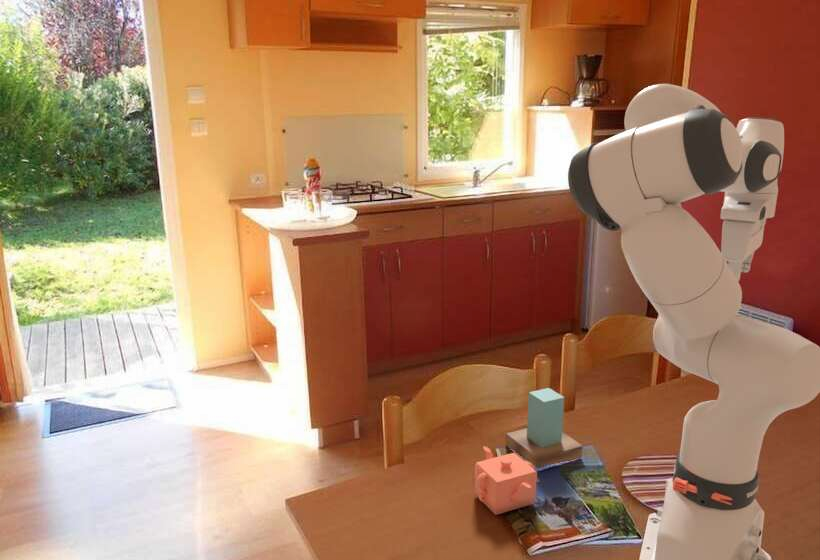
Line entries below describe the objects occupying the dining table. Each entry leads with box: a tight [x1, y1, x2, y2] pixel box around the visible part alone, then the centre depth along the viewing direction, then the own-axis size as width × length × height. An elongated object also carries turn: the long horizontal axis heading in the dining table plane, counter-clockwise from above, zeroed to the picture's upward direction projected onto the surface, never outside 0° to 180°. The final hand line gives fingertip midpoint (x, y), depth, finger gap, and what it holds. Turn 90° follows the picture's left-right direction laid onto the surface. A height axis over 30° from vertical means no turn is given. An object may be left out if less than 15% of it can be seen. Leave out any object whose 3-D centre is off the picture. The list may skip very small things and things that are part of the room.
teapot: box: [474, 446, 538, 516], centre depth 116 cm, size 12×15×8 cm
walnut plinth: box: [505, 427, 584, 469], centre depth 133 cm, size 11×11×3 cm
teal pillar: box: [526, 387, 565, 448], centre depth 131 cm, size 5×5×10 cm
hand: (739, 276), depth 126 cm, fingers open, 8 cm apart
